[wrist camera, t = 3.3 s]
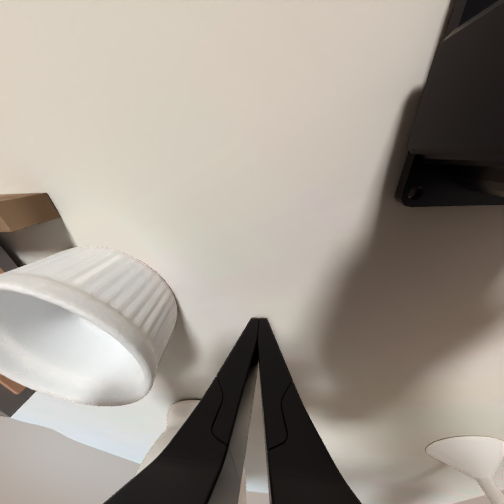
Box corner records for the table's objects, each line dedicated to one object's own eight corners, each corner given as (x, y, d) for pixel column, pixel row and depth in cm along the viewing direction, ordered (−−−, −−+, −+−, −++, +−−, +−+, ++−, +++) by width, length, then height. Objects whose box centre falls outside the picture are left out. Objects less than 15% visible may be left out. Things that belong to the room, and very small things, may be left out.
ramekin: (94, 202, 9) (-35, 237, 5) (215, 312, 12) (188, 386, 8) (30, 280, 12) (-80, 339, 8) (138, 352, 15) (93, 419, 11)
